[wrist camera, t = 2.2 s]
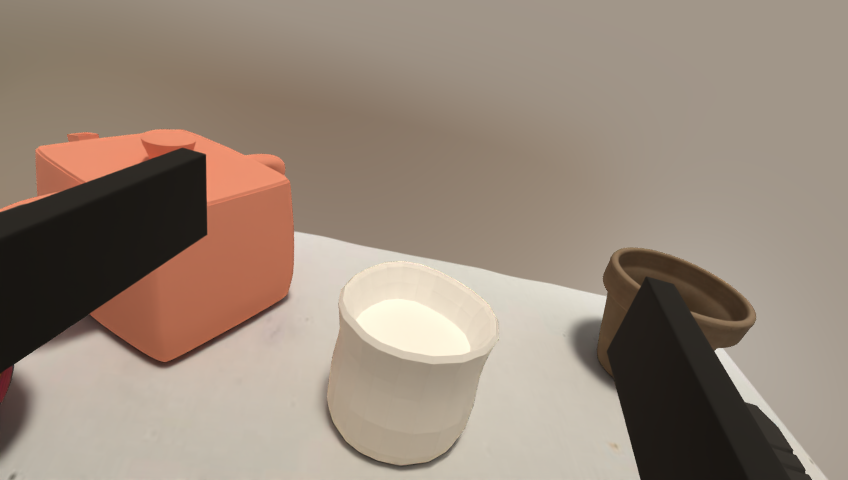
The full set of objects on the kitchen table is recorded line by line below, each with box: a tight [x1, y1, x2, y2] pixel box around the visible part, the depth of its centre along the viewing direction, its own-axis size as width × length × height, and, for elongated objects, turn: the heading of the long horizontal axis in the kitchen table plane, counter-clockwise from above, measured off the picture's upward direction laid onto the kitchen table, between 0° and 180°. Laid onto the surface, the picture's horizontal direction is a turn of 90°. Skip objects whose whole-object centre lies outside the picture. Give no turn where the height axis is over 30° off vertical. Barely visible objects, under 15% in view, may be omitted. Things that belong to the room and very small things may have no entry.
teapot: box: [0, 129, 294, 362], centre depth 36 cm, size 20×22×14 cm
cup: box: [327, 261, 499, 465], centre depth 30 cm, size 10×10×10 cm
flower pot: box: [597, 248, 756, 377], centre depth 40 cm, size 12×11×10 cm
